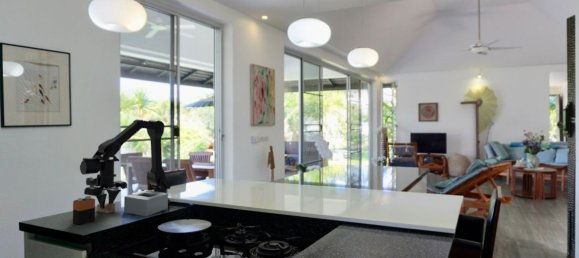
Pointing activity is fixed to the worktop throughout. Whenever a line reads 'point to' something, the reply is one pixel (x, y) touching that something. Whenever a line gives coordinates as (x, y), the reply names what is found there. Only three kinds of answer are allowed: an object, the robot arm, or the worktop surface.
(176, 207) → the worktop surface
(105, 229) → the worktop surface
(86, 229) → the worktop surface
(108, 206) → the tan wooden block
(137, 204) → the coin box
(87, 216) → the battery
